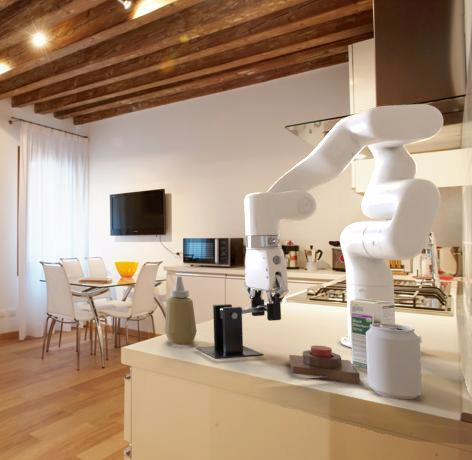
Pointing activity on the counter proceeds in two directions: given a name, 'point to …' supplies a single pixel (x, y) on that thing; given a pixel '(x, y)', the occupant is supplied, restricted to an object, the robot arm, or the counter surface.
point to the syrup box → (367, 324)
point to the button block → (325, 368)
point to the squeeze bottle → (180, 316)
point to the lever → (249, 309)
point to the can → (393, 360)
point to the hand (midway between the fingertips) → (266, 317)
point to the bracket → (228, 334)
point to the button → (321, 351)
